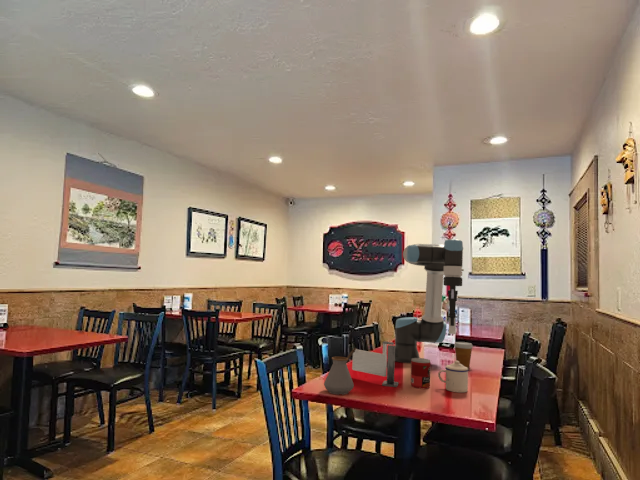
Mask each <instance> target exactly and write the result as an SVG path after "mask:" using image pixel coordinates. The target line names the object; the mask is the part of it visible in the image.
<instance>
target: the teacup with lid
mask: <svg viewBox="0 0 640 480" xmlns="http://www.w3.org/2000/svg"><path fill="white" fill-rule="evenodd" d="M459 363H460V362H459V361H456V360H454V362H453V363H451V364H448V365H446V366H445V369H441V370H439V371H438V375H437V376H438V379H439V381H441V383H445V390H446V391H449V392H454V393H460V394H462V393H467V392H468V389H469V385H468V384H469V375H468V374H469V367H465V366H463V365H462V364H459ZM441 373H445V380H444V379H443V378H442V377H441Z"/></svg>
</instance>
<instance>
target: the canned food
mask: <svg viewBox="0 0 640 480" xmlns="http://www.w3.org/2000/svg"><path fill="white" fill-rule="evenodd" d="M410 384H411V387H412V388H416V389H419V390H420V389H423V390H425V389H426V390H427V389H429V388H430V387H431V360H430V359H428V358H423V357H422V358H421V357H420V358H412V360H411V363H410Z"/></svg>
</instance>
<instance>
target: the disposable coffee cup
mask: <svg viewBox="0 0 640 480" xmlns="http://www.w3.org/2000/svg"><path fill="white" fill-rule="evenodd" d="M453 346H454V351H455V352H454V353H455V359H456V360H455V361H459V362H460V363H459V364H462V365H463V366H465V367H467V368H470V364H471V358H472V351H473V347H474V346H473V344H472V343H471V342H465V341H455V342H454V344H453Z"/></svg>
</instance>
